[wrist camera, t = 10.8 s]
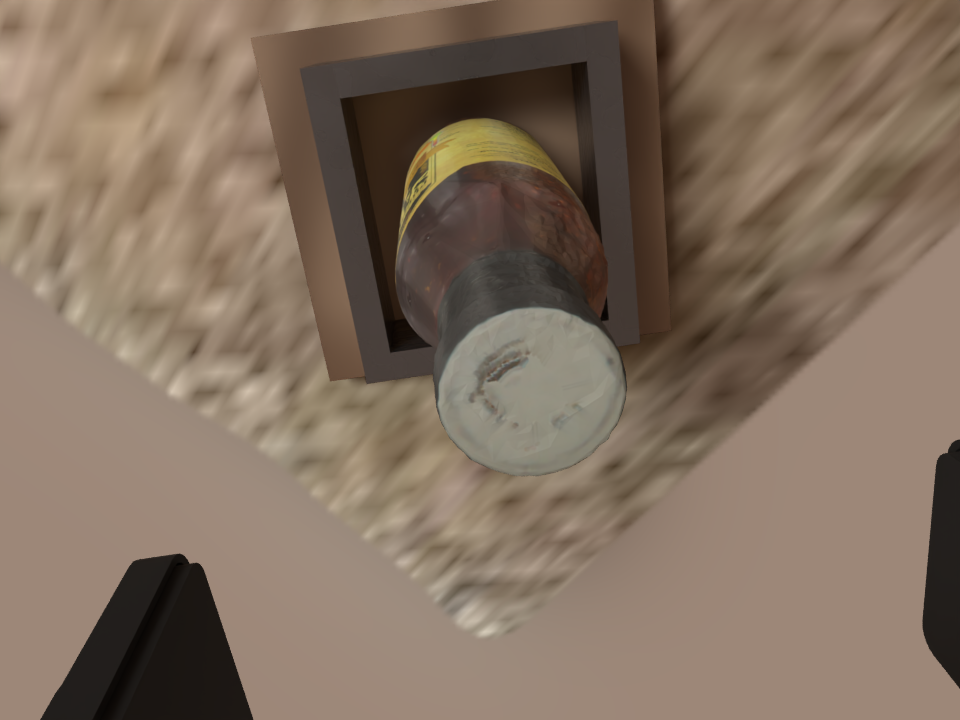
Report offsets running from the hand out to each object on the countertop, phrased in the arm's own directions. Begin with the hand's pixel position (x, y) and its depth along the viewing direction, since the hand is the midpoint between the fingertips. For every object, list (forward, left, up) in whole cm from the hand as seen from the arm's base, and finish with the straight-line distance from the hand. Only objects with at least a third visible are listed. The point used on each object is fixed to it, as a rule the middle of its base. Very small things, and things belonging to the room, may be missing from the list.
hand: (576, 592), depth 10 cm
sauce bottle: (0, 0, -27) cm, 27 cm away
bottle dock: (0, 0, -28) cm, 28 cm away
